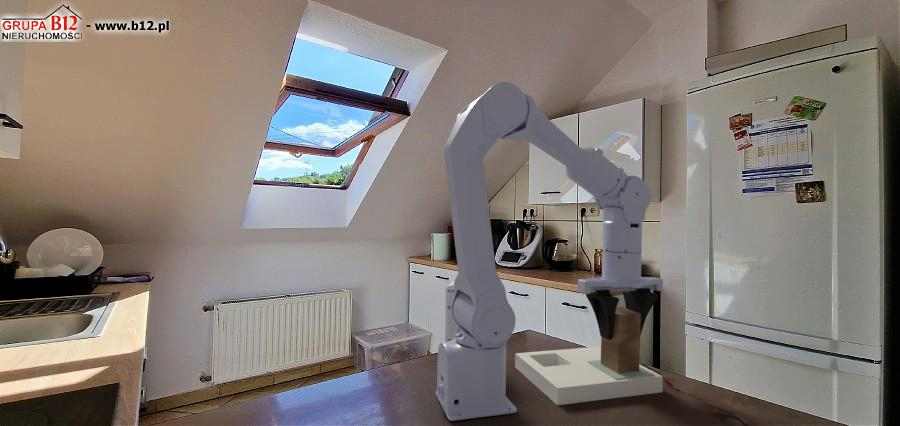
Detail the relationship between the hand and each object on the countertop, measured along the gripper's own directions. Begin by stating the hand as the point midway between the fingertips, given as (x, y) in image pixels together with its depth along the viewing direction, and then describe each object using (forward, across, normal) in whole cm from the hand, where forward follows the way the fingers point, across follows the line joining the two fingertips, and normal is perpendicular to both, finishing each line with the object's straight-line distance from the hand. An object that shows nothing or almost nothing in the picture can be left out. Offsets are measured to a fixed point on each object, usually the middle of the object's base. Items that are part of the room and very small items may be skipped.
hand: (620, 336), depth 62 cm
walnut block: (+5, 0, 0) cm, 5 cm away
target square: (+5, 0, 0) cm, 5 cm away
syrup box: (+8, -22, +13) cm, 27 cm away
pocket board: (+8, -4, +3) cm, 9 cm away
